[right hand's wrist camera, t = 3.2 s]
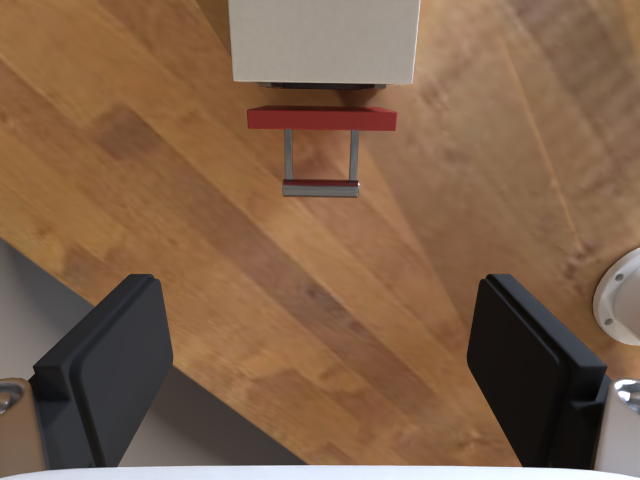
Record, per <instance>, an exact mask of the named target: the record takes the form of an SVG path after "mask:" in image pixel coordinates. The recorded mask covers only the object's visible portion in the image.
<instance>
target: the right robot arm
mask: <svg viewBox="0 0 640 480" xmlns="http://www.w3.org/2000/svg"><path fill="white" fill-rule="evenodd" d="M593 312H594V317H595V319H596V322H597V323H598V325H599V326H600V327H601V329H602V330H603V331H605V332H606V333H607V334H608V335H609V336H610V337H612V338H614V339H615V340H617V341H619V342H622V343H625V344H630V345H640V247H639V248H637V249H635V250H633V251H632V252H630V253H628V254H627V255H625V256H624V257H622V258H621V259H619V260H618V261H617V262H616V263H615V264H614V265H613V266H612V267H611V268H610V269H609V270H608V271H607V272H606V274H605V275H604V276H603V278H602V279H601V281H600V283H599V285H598V286H597V289H596V292H595V295H594V300H593ZM172 363H173V351H172V345H171V339H170V334H169V328H168V322H167V316H166V311H165V305H164V299H163V293H162V288H161V283H160V281H159V279H155V278H154V276H153V275H152V274H130V275H128V276H127V277H126V278H125V279H124V280H123V281H122V282H121V283H120V284H119V285H118V286H117V287H116V288H115V289H114V290H113V291H112V292H111V293H109V294H108V295H107V296H106V297H105V298H104V299H103V300H102V301H101V302H100V303H99V304H98V305H97V306H96V307H95V308H94V309H93V310H92V311H91V312H89V313H88V314H87V315H86V316H85V317H84V318H83V319H82V320H81V321H80V322H79V323H78V324H77V325H76V326H75V327H74V328H73V329H72V330H70V331H69V332H68V333H67V334H66V335H65V336H64V337H63V338H62V339H61V340H60V341H59V342H58V343H57V344H56V345H55V346H54V347H53V348H52V349H50V350H49V351H48V352H47V353H46V354H45V355H44V356H43V357H42V358H41V359H40V360H39V361H38V362H37V363H36V364H35V365H34V366H33V369H34V372H35V374H34V375H33V376H32V377H31V378H30V379H29V380H28V381H27V380H25V379H22V378H6V379H0V480H640V379H634V378H618V379H615V380H613V381H612V380H611V379H610V378H609V377H608V376H607V375H606V374H605V372H606V369H607V366H606V365H605V364H604V363H603V362H602V361H601V360H600V359H599V358H598V357H597V356H596V355H595V354H594V353H593V352H592V351H591V350H590V349H588V348H587V347H586V346H585V345H584V344H583V343H582V342H581V341H580V340H579V339H578V338H577V337H576V336H575V335H574V334H573V333H572V332H571V331H570V330H568V329H567V328H566V327H565V326H564V325H563V324H562V323H561V322H560V321H559V320H558V319H557V318H556V317H555V316H554V315H553V314H552V313H551V312H549V311H548V310H547V309H546V308H545V307H544V306H543V305H542V304H541V303H540V302H539V301H538V300H537V299H536V298H535V297H534V296H533V295H532V294H531V293H529V292H528V291H527V290H526V289H525V288H524V287H523V286H522V285H521V284H520V283H519V282H518V281H517V280H516V279H515V278H514V277H513V276H512V275H510V274H488V275H487V276H486V278H485V279H481V281H480V283H479V288H478V293H477V299H476V305H475V311H474V316H473V322H472V328H471V334H470V339H469V345H468V351H467V363H468V367H469V369H470V371H471V373H472V374H473V376H474V378H475V380H476V382H477V384H478V385H479V387H480V389H481V391H482V393H483V395H484V397H485V398H486V400H487V402H488V404H489V406H490V408H491V409H492V411H493V413H494V415H495V417H496V419H497V420H498V422H499V424H500V426H501V428H502V430H503V432H504V433H505V435H506V437H507V439H508V441H509V443H510V444H511V446H512V448H513V450H514V452H515V454H516V455H517V457H518V459H519V461H520V463H521V465H522V467H474V466H333V465H307V466H166V467H117V466H118V465H119V463H120V461H121V459H122V457H123V455H124V454H125V452H126V450H127V448H128V446H129V444H130V442H131V441H132V439H133V437H134V435H135V433H136V432H137V430H138V428H139V426H140V424H141V422H142V420H143V419H144V417H145V415H146V413H147V411H148V409H149V408H150V406H151V404H152V402H153V400H154V398H155V397H156V395H157V393H158V391H159V389H160V387H161V385H162V384H163V382H164V380H165V378H166V376H167V374H168V373H169V371H170V369H171V367H172Z"/></svg>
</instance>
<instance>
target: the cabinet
mask: <svg viewBox="0 0 640 480" xmlns="http://www.w3.org/2000/svg"><path fill="white" fill-rule="evenodd" d="M228 10H229V26H230V41H231V57H232V73H233V81H237V82H244V83H251V84H258V85H259V82H299V83H359V84H386V87H388V86H398V85H407V84H412V82H413V72H414V62H415V51H416V41H417V31H418V21H419V10H420V0H228Z"/></svg>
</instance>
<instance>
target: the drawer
mask: <svg viewBox="0 0 640 480" xmlns="http://www.w3.org/2000/svg"><path fill="white" fill-rule="evenodd" d="M259 86H260V87H267V88H280V89H341V90H375V89H385V88H386V84H359V83H299V82H259ZM247 119H248V128H249V129H284V138H285V179H283V196H284V197H331V198H358V195H359V181H358V180H356V179H357V160H358V140H359V130H371V131H395V130H396V122H397V112H394V111H390V110H386V109H382V108H378V107H333V106H272V105H267V106H262V107H258V108H253V109H249V110H247ZM292 129H309V130H351V144H350V167H349V180H326V179H293V154H292Z"/></svg>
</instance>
